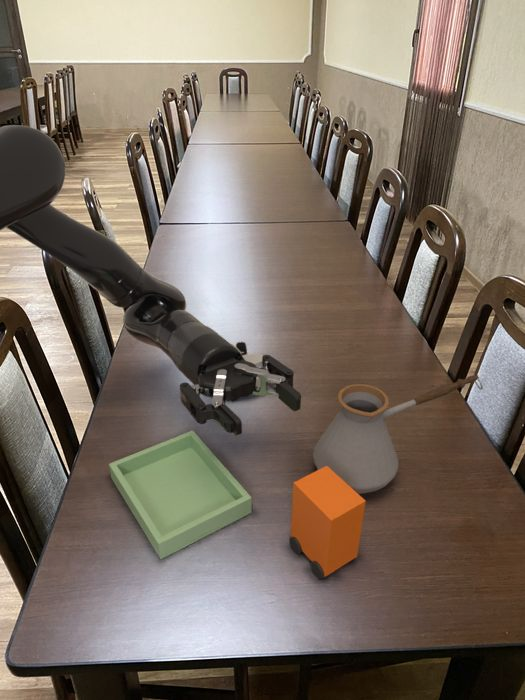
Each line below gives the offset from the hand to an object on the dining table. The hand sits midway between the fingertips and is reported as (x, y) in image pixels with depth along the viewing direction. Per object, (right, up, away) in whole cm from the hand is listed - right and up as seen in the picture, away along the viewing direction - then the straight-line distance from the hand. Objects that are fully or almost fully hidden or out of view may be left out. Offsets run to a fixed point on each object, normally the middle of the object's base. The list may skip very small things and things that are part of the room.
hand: (270, 416), depth 64 cm
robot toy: (-6, +3, +30) cm, 31 cm away
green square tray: (-12, -11, +7) cm, 18 cm away
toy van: (+6, -16, -1) cm, 17 cm away
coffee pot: (+17, -9, +11) cm, 22 cm away
